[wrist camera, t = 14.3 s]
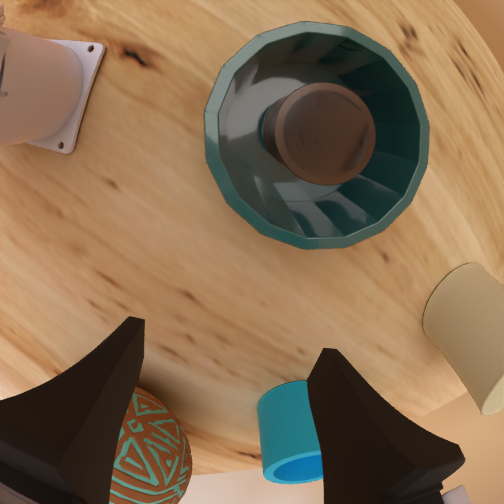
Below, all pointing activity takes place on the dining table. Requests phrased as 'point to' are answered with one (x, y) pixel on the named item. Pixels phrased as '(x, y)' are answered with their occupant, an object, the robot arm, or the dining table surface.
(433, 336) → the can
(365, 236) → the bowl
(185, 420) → the dining table surface
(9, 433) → the robot arm
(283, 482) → the mug
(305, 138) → the spool
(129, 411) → the decorative sphere
